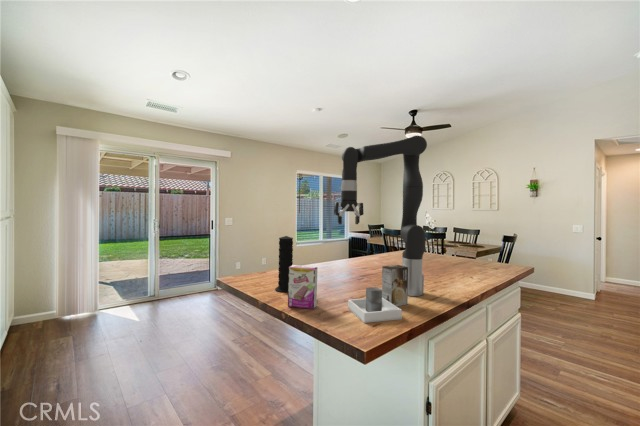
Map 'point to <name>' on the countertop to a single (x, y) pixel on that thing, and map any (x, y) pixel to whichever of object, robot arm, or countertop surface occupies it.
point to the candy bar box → (302, 287)
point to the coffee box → (395, 284)
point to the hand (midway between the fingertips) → (348, 224)
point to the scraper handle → (373, 299)
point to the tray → (386, 314)
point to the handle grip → (284, 262)
